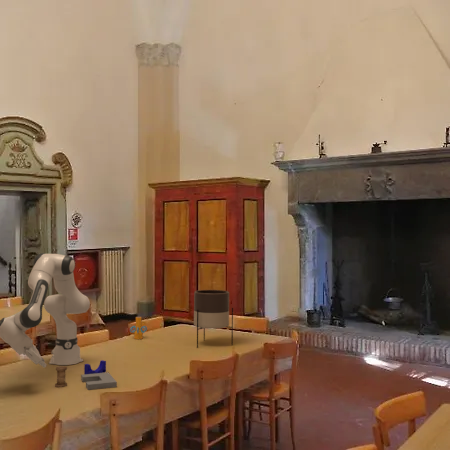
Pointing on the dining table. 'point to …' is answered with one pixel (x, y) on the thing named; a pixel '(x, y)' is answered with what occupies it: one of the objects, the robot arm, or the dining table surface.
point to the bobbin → (61, 376)
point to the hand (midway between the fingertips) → (44, 364)
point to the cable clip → (99, 370)
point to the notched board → (98, 381)
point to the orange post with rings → (138, 329)
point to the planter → (211, 310)
